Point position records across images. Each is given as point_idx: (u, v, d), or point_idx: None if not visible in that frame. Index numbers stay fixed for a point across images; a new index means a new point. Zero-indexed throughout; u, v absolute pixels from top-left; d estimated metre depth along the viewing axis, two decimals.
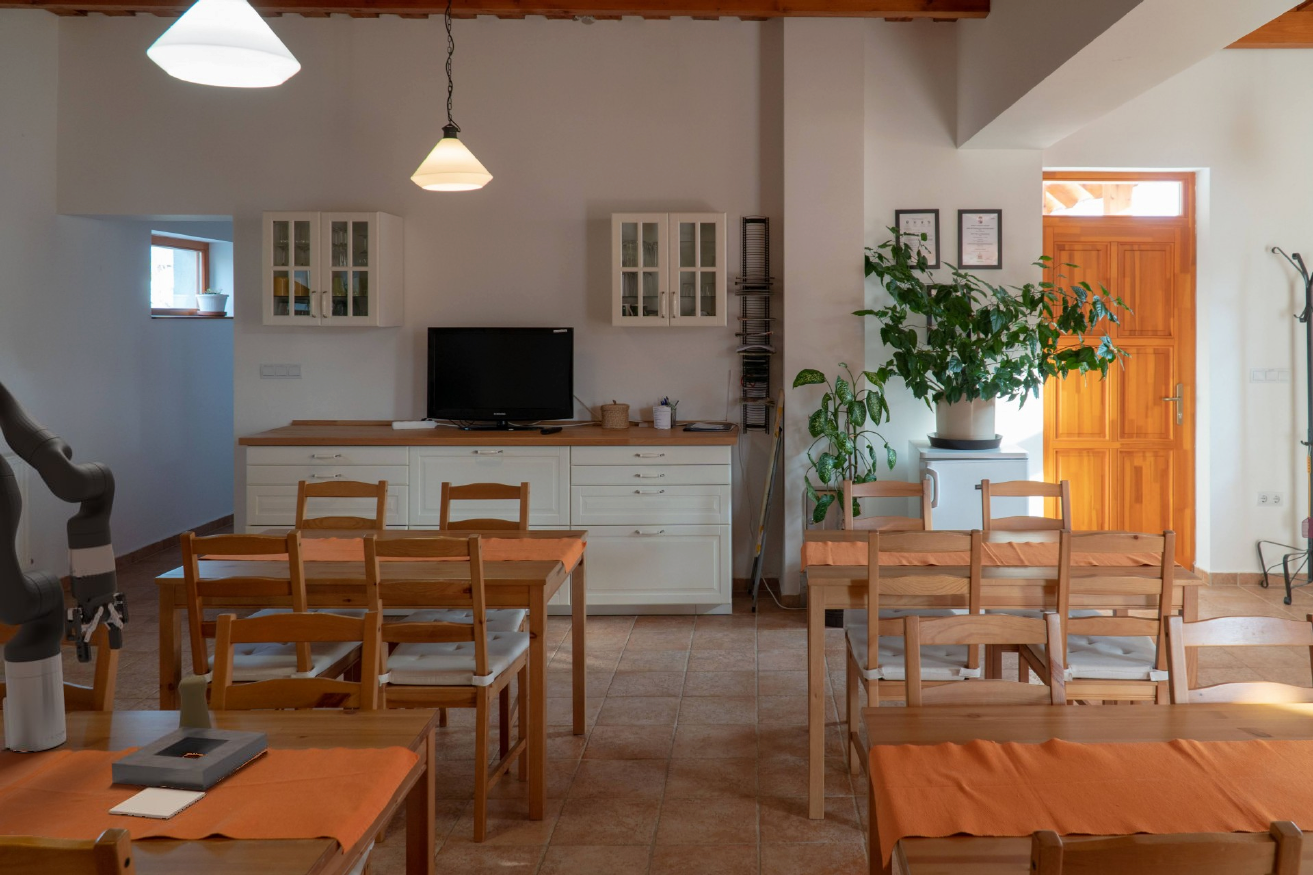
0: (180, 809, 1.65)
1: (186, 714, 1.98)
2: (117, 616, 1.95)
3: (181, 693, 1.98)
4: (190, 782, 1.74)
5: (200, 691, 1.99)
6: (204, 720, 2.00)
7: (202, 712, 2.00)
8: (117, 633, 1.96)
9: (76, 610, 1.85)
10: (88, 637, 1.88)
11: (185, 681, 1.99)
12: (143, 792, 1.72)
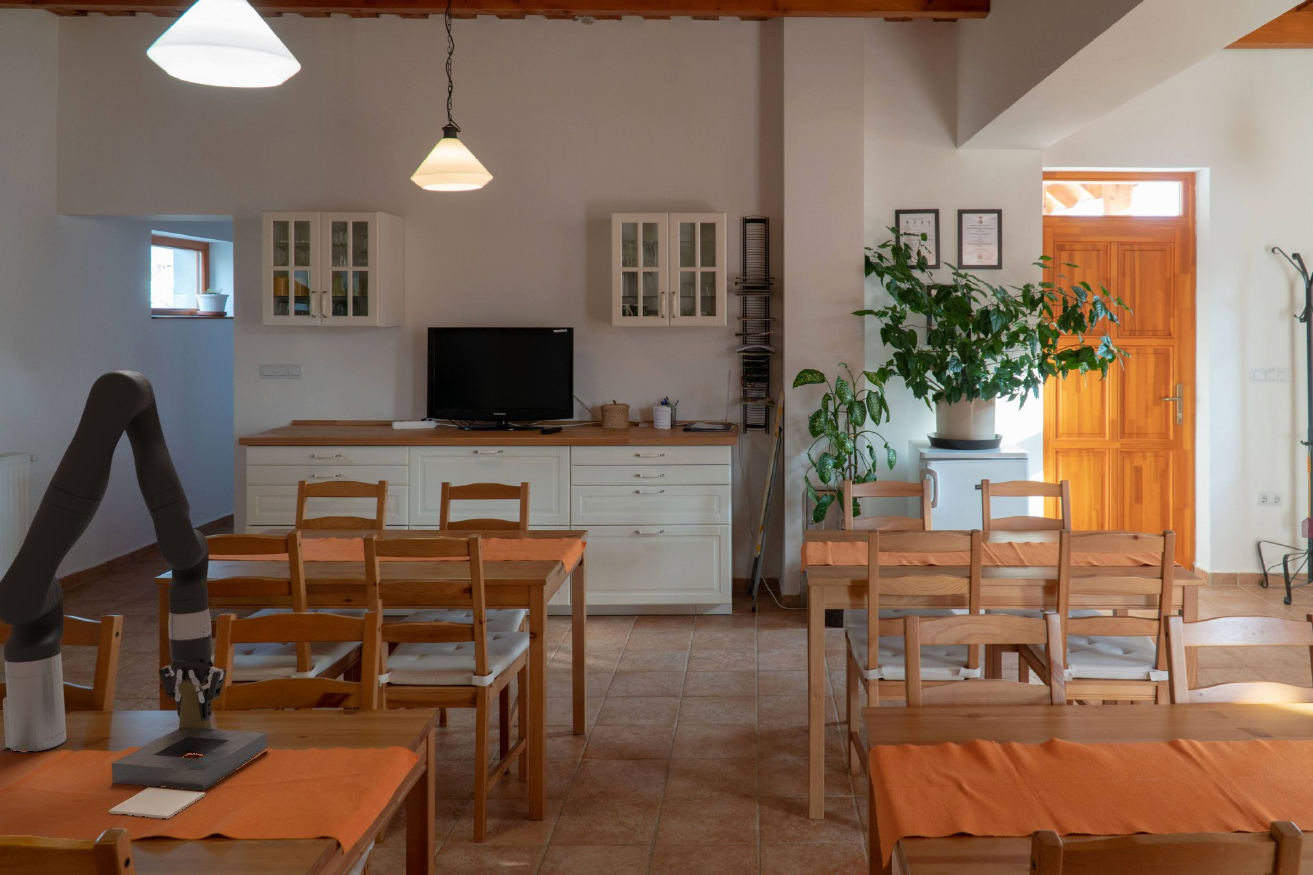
0: (180, 809, 1.65)
1: (186, 714, 1.98)
2: None
3: (181, 693, 1.98)
4: (190, 782, 1.74)
5: None
6: None
7: None
8: None
9: (225, 670, 2.00)
10: None
11: (185, 681, 1.99)
12: (143, 792, 1.72)
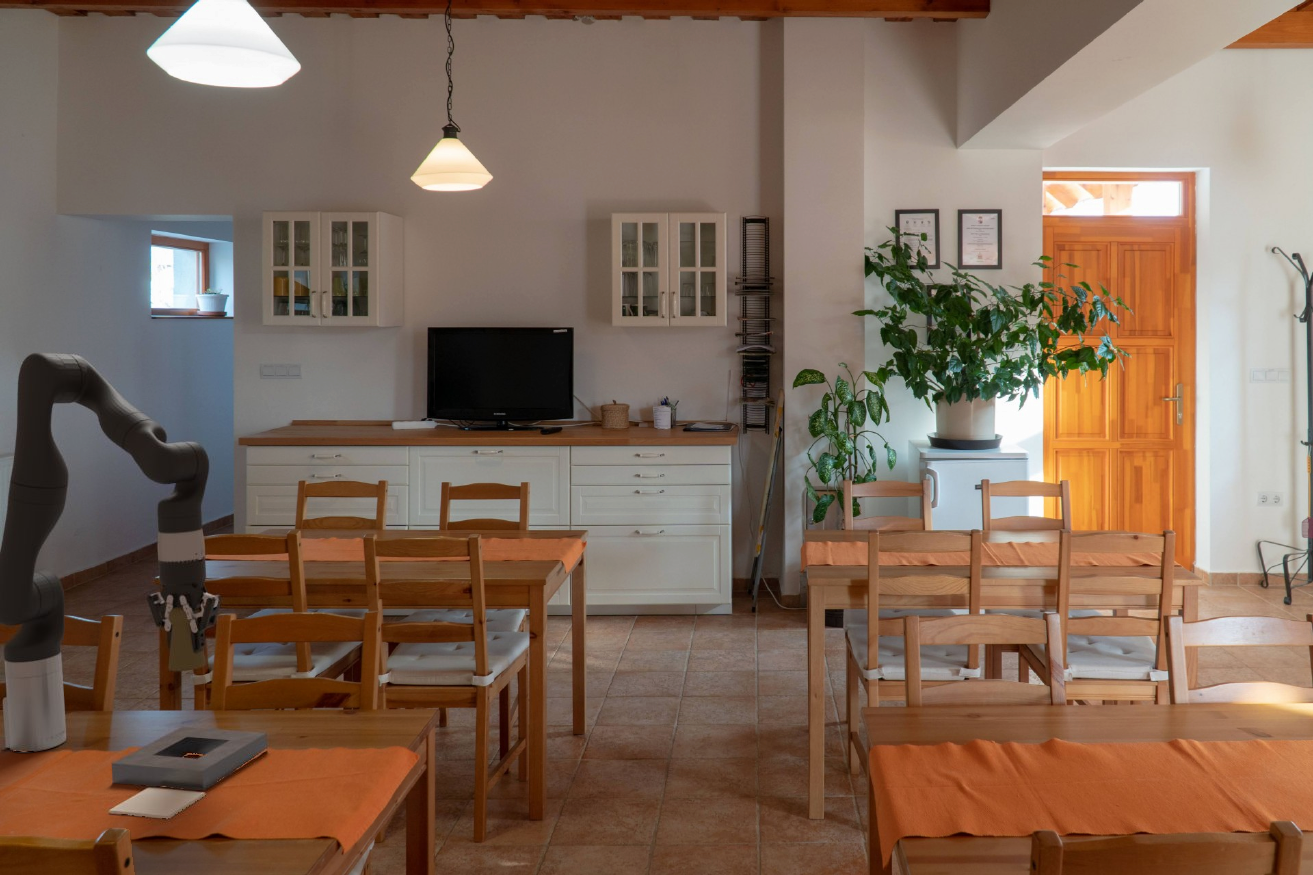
0: (180, 809, 1.65)
1: (177, 645, 1.80)
2: None
3: (171, 621, 1.80)
4: (190, 782, 1.74)
5: None
6: None
7: None
8: None
9: (220, 597, 1.81)
10: None
11: (176, 608, 1.80)
12: (143, 792, 1.72)
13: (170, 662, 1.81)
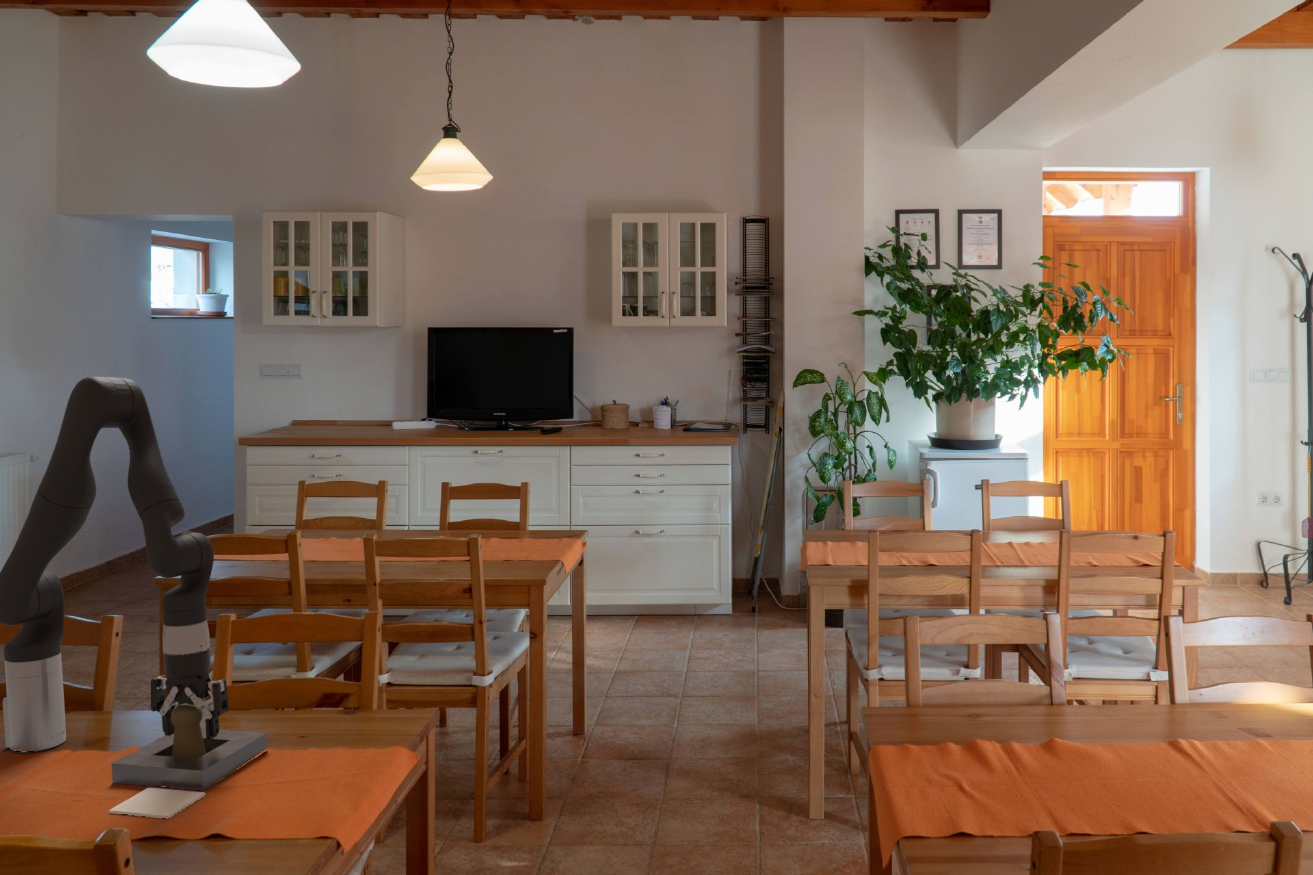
0: (180, 809, 1.65)
1: (180, 747, 1.81)
2: None
3: (174, 723, 1.81)
4: (190, 782, 1.74)
5: (195, 721, 1.82)
6: (199, 752, 1.83)
7: (198, 744, 1.83)
8: None
9: (224, 680, 1.82)
10: None
11: (179, 710, 1.82)
12: (143, 792, 1.72)
13: None
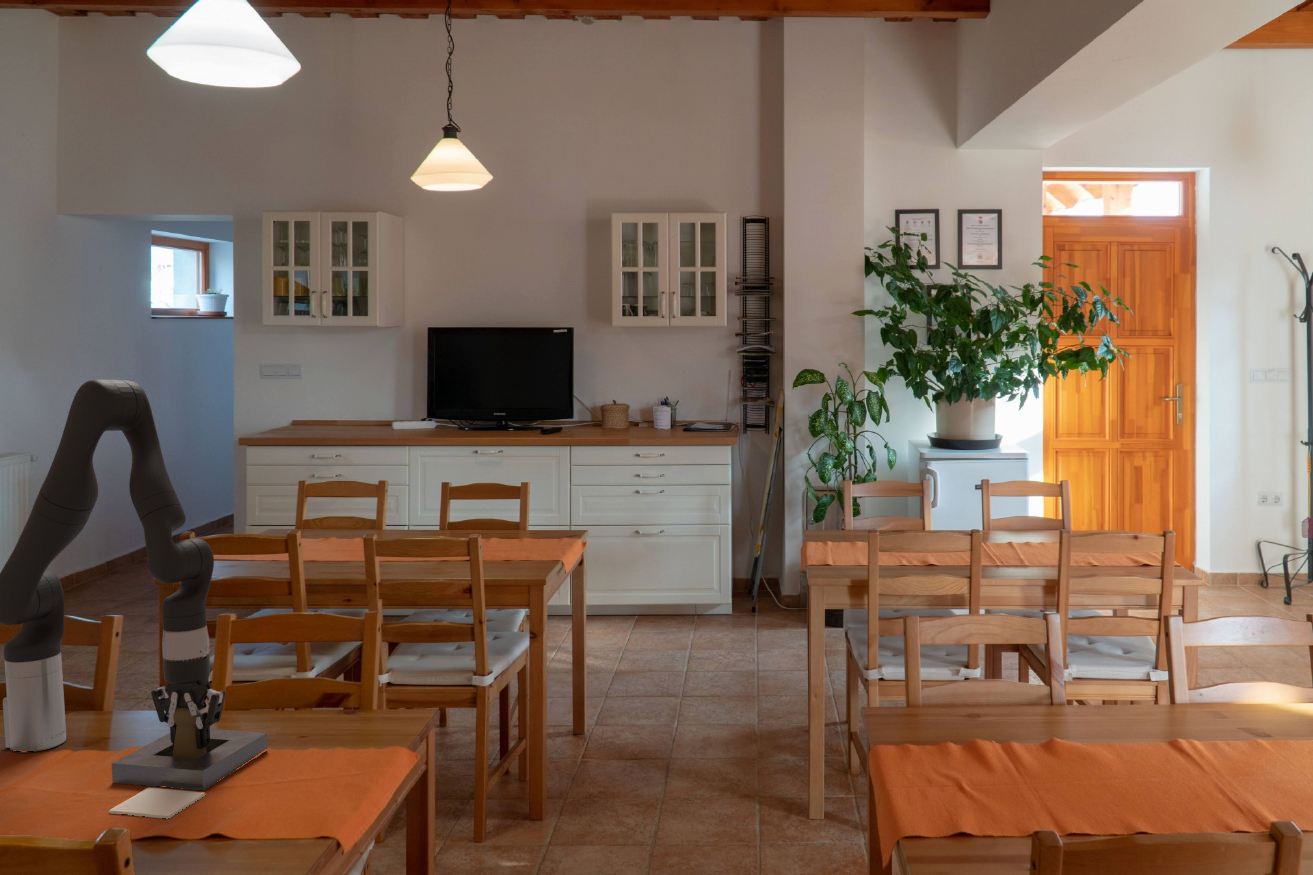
0: (180, 809, 1.65)
1: (181, 746, 1.81)
2: None
3: (177, 722, 1.81)
4: (190, 782, 1.74)
5: None
6: (200, 752, 1.83)
7: None
8: None
9: (224, 692, 1.83)
10: None
11: (182, 710, 1.81)
12: (143, 792, 1.72)
13: None
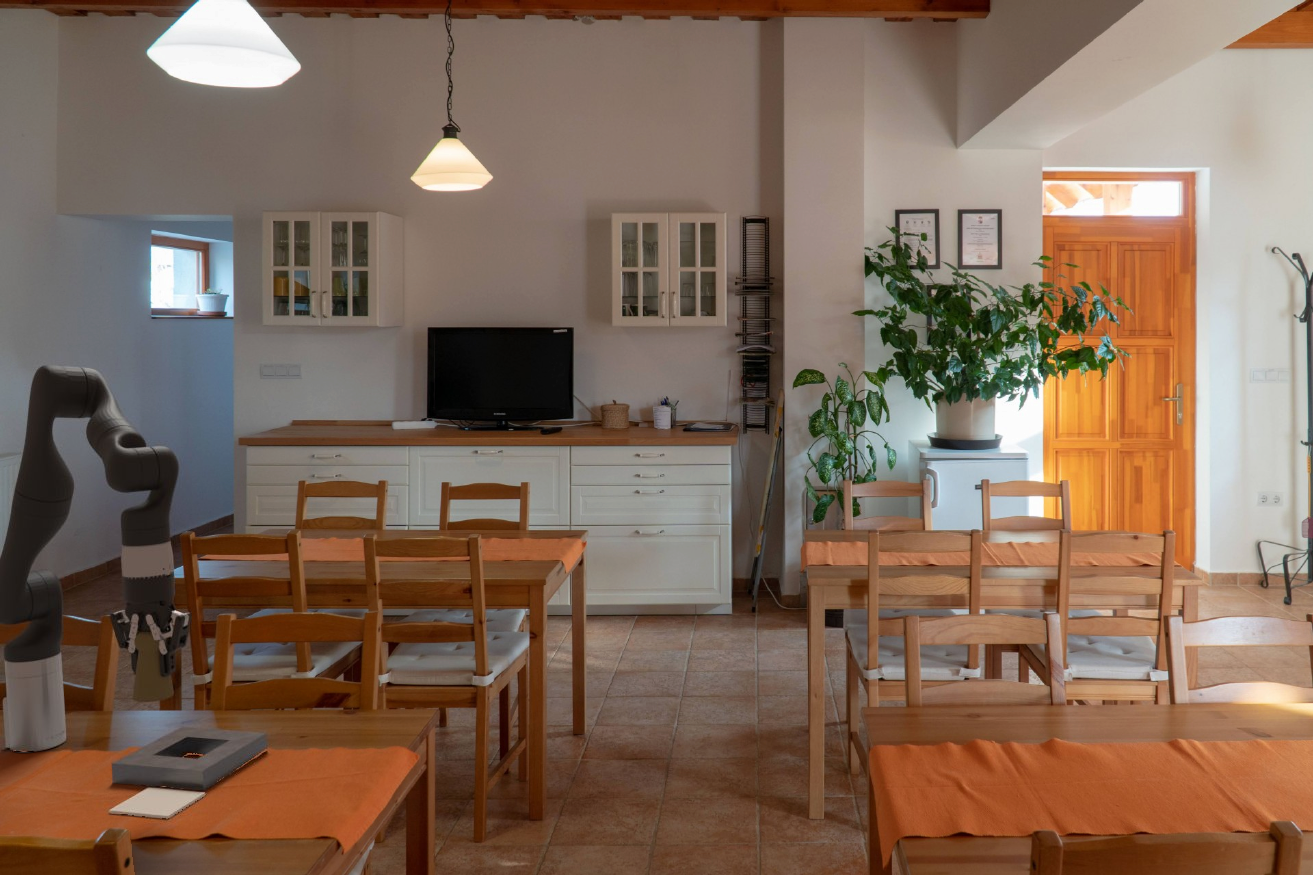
0: (180, 809, 1.65)
1: (143, 673, 1.65)
2: None
3: (138, 647, 1.65)
4: (190, 782, 1.74)
5: None
6: (164, 681, 1.66)
7: None
8: None
9: (190, 614, 1.66)
10: None
11: (144, 633, 1.65)
12: (143, 792, 1.72)
13: (135, 692, 1.65)
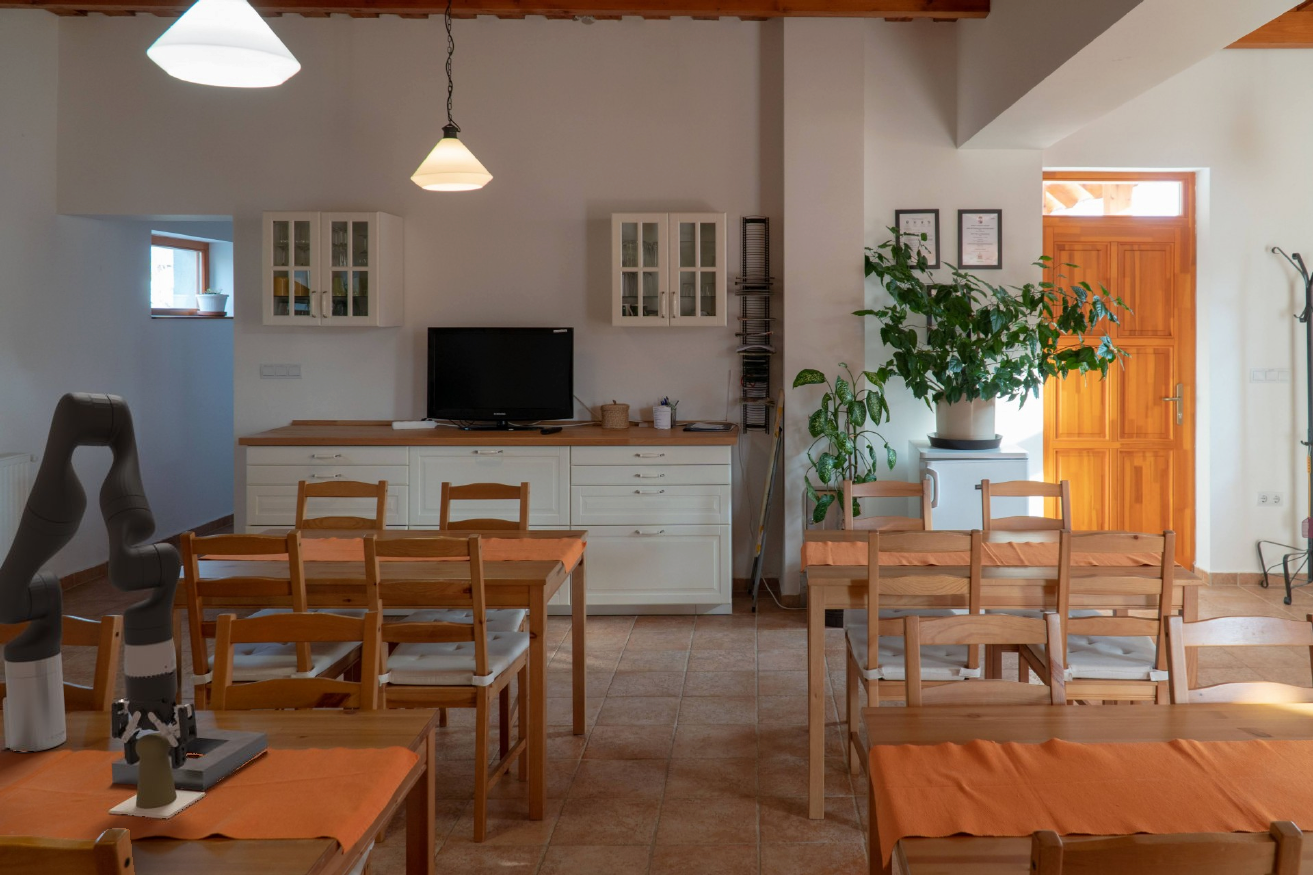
0: (180, 809, 1.65)
1: (146, 780, 1.66)
2: None
3: (140, 754, 1.66)
4: (190, 782, 1.74)
5: (163, 751, 1.66)
6: (167, 786, 1.67)
7: (166, 776, 1.67)
8: None
9: (192, 704, 1.67)
10: None
11: (145, 740, 1.66)
12: None
13: (138, 799, 1.66)
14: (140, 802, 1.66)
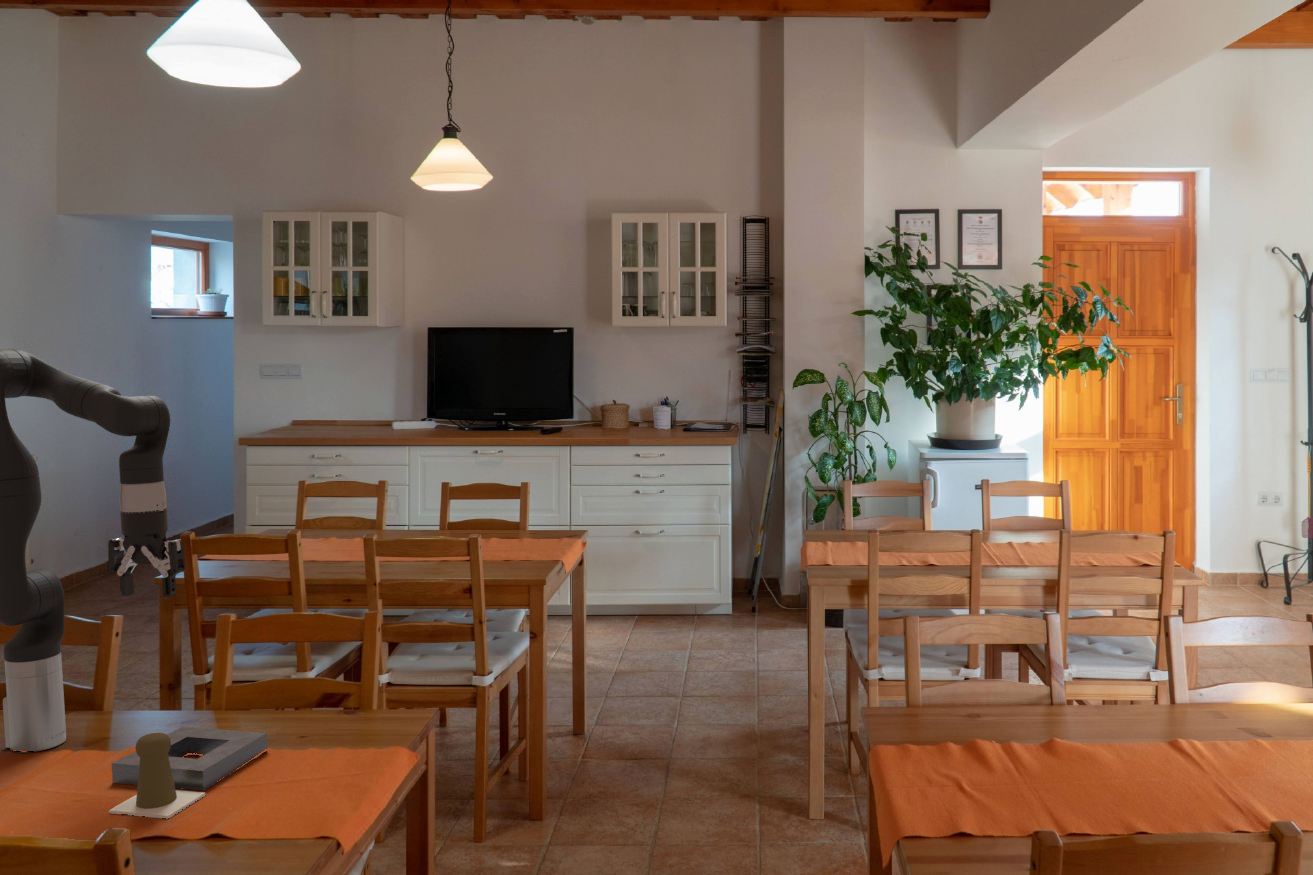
0: (180, 809, 1.65)
1: (146, 780, 1.66)
2: None
3: (140, 754, 1.66)
4: (190, 782, 1.74)
5: (163, 751, 1.66)
6: (167, 786, 1.67)
7: (166, 776, 1.67)
8: (132, 577, 1.87)
9: (181, 540, 1.85)
10: None
11: (145, 740, 1.66)
12: None
13: (138, 799, 1.66)
14: (140, 802, 1.66)
